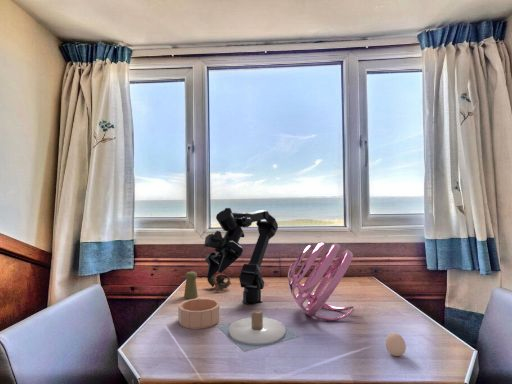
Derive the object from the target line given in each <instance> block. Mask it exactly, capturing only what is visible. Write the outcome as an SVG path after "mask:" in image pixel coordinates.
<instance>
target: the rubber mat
mask: <svg viewBox="0 0 512 384" xmlns="http://www.w3.org/2000/svg"><path fill="white" fill-rule="evenodd" d="M263 318H270V316H263ZM231 324H232V323H230V324H227V325H221V326H218V327H217V328H218V329H219V330H220V331H221V332H222V333H224V335H226V336H227V337H228V338H229V339H230V340H231V341H232V342H233V343H234V344H235V345H236V346H238V348H240V349H241V350H242V351H243V353H245V352H248V351H251V350H256V349H259V348H262V347H266V346H269V345H273V344H274V345H275V344H277V343H282V342H284V341H288V340H293V339H296V338H300V335H298V334H296V333H295V332H292V330H289V329H288V328H286V327H285V336H284V337H283V338H282V339H280V340H278V341H276V342H273V343H269V344H262V345H252V344H245V343H241V342H238V341H236V340H234V339H232V338H231V337H230V335H229V327H230V325H231Z"/></svg>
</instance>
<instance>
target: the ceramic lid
mask: <svg viewBox="0 0 512 384" xmlns="http://www.w3.org/2000/svg"><path fill="white" fill-rule="evenodd" d="M250 312H251V316H250V317H246V318H241V319H239V320H236V321H234V322H232V323H230V324H231V325H230V324H229V325H230V327H229V335H230V337H231V338H232V339H234V340H236V341H238V342H241V343H245V344H252V345H262V344H269V343H273V342H276V341H278V340H280V339H282V338H283V337H284V336H285V328H286V327H285V325H284V324H283V322H281V321H279V320H276V319H274V318H270V317H269V318H263V317H264V316H263V315H264V314H263V310H259V309H255V310H252V311H250Z"/></svg>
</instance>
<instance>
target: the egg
mask: <svg viewBox="0 0 512 384" xmlns="http://www.w3.org/2000/svg"><path fill="white" fill-rule="evenodd" d="M385 349H386V350H387V351H388V353H390V355H391V356H394V357H400V356H403V355H404V353H406V350H407V345H406V341H405V340H404V338H403V337H402V335H400V334H399V333H397V332H392V333H390V334H388V335H387V337H386V339H385Z"/></svg>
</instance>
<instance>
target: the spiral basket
mask: <svg viewBox="0 0 512 384" xmlns="http://www.w3.org/2000/svg"><path fill="white" fill-rule="evenodd" d="M325 245H326V242H325V241H320V242H318V243H317V244H316V245H315V246H314V248H313V250H312V251H311V253H310V254H309V255H308V257H307V258H306V260H305V261H304V263H303V264H302V266H301V267H300V269H299V270H298V271H297V273H296V274H295V271H296V269H297V268H298V266H299V265H300V263H301V262H302V261H303V259H304V257H305V255H306V254H307V253H308V251H309V250H310V248H311V247H312V244H308V245H307V246H305V247H304V249H303V250H302V252H301V253H299V256H298V258H297V259H296V260H295V262H291V264H290V265H289V268H288V273H287V279H288V290H289V293H290V295H291V296H292V299H293V300H294V303H295V304H296V306H297V307H298V308H300V309H301V310H302V311H303V312H304V313H305V314H306V315H308V316H309V317H312V318H315V319H318V320H319V321H320V320H321V321H326V322H335V321H340V320H343V319H346V318H347V317H349V316H350V315H352V314H353V312H354V311H355V309H354V308H355V307H354V306H353V305H352V306H346V307H341V306H340V307H339V306H335V305H331V304H327V303H326V302H327V301H328V300H329V298H331V295H332V294H333V293H334V292H335V290H336V289H337V287H338V285H340V282H341V280H342V279H343V277H344V275H346V272H347V270H348V269H349V267H350V264H351V262H352V259H353V257H354V254H353V253H352V251H350V250H349V249H345V250H344V251H343V252H342V253H341V254H340V255H339V256H338V258H336V256H337V254H338V252H339V250H340V248H341V246H340V244H338V243H335V242H334V243H332V244H331V245H330V246H329V247H328V248H327V250H326V251H325V253H323V255H322V256H321V258H320V259H319V260H318V262H317V263H316V265H315V266H314V268H313V269H312V271H310V274H309V275H308V276H307V278H306V280H305V281H304V282H303V284H301V281H302V280H303V278H304V277H305V276H306V274H307V273H308V271H309V270H310V269H311V267H312V265H313V264H314V262H315V261H316V259H317V257H319V254H320V253H321V252H322V250H323V248H324V247H325ZM335 258H336V260H335V261H334V259H335ZM333 261H334V263H333ZM332 263H333V264H332ZM330 266H331V267H330ZM328 269H329V270H328ZM291 278H292V279H291ZM296 288H297V291H298V293H297V294H296V293H295V289H296ZM315 288H316V289H315ZM314 290H315V291H314ZM306 300H307V304H306V307H305V306H304V305H303V304H304V302H305V301H306ZM322 308H323V309H325V310H328V309H331V310H330V311H334V310H336V311H335V312H343V311H348V312H347V313H345V314H343V315H341V316H337V317H324V316H320V315H318V314H317V313H318V312H319V311H320V310H321V309H322ZM349 310H350V311H349Z"/></svg>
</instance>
